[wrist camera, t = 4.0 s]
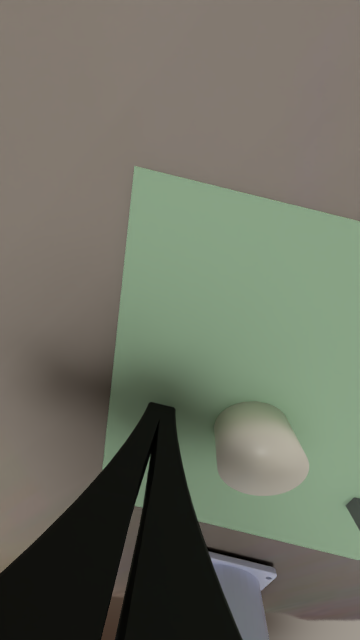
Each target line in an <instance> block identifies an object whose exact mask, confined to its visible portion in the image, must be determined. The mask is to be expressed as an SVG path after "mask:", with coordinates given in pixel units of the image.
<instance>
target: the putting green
mask: <svg viewBox="0 0 360 640" xmlns="http://www.w3.org/2000/svg"><path fill="white" fill-rule="evenodd" d="M248 401H256V402H263V403H267V404H270V405H272V406H274V407H276V408H278V409H279V410H280V411H282V412H283V413H284V415H285V416H286V418H287V420H288V422H289V423H290V425H291V427H292V429H293V431H294V433H295V435H296V437H297V439H298V441H299V443H300V445H301V447H302V449H303V451H304V452H305V454H306V456H307V458H308V461H309V472H308V475H307V477H306V478H305V480H304V481H303V482H302V483H301V484H300V485H299V486H297V487H296V488H294V489H292V490H290V491H288V492H285V493H282V494H278V495H272V496H255V495H249V494H245V493H242V492H239V491H237V490H235V489H233V488H231V487H230V486H228V485H227V484H226V483H225V482H224V481H223V480H222V479H221V477H220V476H219V473H218V470H217V459H216V447H215V435H214V424H215V421H216V419H217V417H218V416H219V414H220V413H221V412H222V411H223V410H225V409H226V408H228V407H230V406H232V405H234V404H237V403H241V402H248ZM150 402H154V403H158V404H162V405H166V406H171V407H174V408H175V409H176V427H177V436H178V442H179V448H180V453H181V459H182V464H183V468H184V472H185V477H186V481H187V485H188V489H189V492H190V496H191V500H192V503H193V507H194V510H195V513H196V516H197V520H198V521H200V522H204V523H208V524H212V525H216V526H220V527H224V528H228V529H232V530H237V531H241V532H245V533H249V534H253V535H257V536H261V537H265V538H269V539H274V540H278V541H282V542H286V543H290V544H294V545H298V546H302V547H306V548H311V549H315V550H319V551H323V552H327V553H331V554H335V555H339V556H343V557H348V558H352V559H356V560H360V531H359V529H358V527H357V525H356V523H355V522H354V520H353V518H352V516H351V514H350V513H349V511H348V509H347V507H346V505H347V504H348V503H349V502H350V501H351V500H352V499H353V498H354V497H355V498H360V221H356V220H352V219H348V218H344V217H340V216H336V215H332V214H328V213H324V212H320V211H316V210H311V209H307V208H303V207H299V206H295V205H291V204H287V203H283V202H279V201H275V200H271V199H267V198H263V197H259V196H254V195H250V194H246V193H242V192H238V191H234V190H230V189H226V188H222V187H218V186H214V185H210V184H206V183H202V182H197V181H193V180H189V179H185V178H181V177H177V176H173V175H169V174H165V173H161V172H157V171H153V170H149V169H145V168H140V167H136V166H134V176H133V185H132V195H131V204H130V214H129V223H128V232H127V242H126V251H125V261H124V270H123V279H122V289H121V298H120V308H119V317H118V327H117V336H116V345H115V355H114V364H113V374H112V383H111V393H110V402H109V411H108V421H107V430H106V440H105V449H104V458H103V468H102V471H103V469H104V468H105V467H106V466H107V465H108V463H109V462H110V461H111V460H112V458H113V457H114V456H115V455H116V453H117V452H118V451H119V449H120V448H121V447H122V445H123V444H124V443H125V441H126V440H127V439H128V437H129V436H130V434H131V433H132V431H133V430H134V428H135V427H136V425H137V424H138V422H139V421H140V419H141V417H142V416H143V414H144V412H145V410H146V408H147V406H148V403H150ZM150 455H151V454H150ZM149 462H150V458H149V461H148V464H147V467H146V470H145V474H144V477H143V480H142V483H141V486H140V490H139V493H138V496H137V499H136V502H135V506H138V507H142V508H143V502H144V495H145V489H146V482H147V475H148V469H149Z"/></svg>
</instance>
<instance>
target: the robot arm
mask: <svg viewBox="0 0 360 640" xmlns="http://www.w3.org/2000/svg"><path fill="white" fill-rule="evenodd" d="M150 454H151V455H150ZM149 458H150V462H149V469H148V475H147V482H146V489H145V495H144V502H143V509H142V515H141V520H140V526H139V530H138V535H137V540H136V544H135V549H134V554H133V558H132V563H131V568H130V572H129V577H128V582H127V586H126V591H125V596H124V600H123V605H122V610H121V614H120V619H119V624H118V628H117V633H116V637H115V640H269V635H268V629H267V624H266V618H265V612H264V607H263V601H262V596H261V591H262V590H263V589H264V588H265V587H266V586H267V585H268V584H269V583H270V582H271V581H273V580H274V579H275V578H276V576H277V574H276V570H275V568H274V567H271V566H267V565H263V564H259V563H255V562H251V561H246V560H242V559H238V558H234V557H230V556H226V555H222V554H218V553H214V552H209V551H208V549H207V546H206V543H205V541H204V538H203V535H202V532H201V529H200V526H199V523H198V520H197V516H196V513H195V510H194V507H193V503H192V500H191V496H190V492H189V489H188V485H187V481H186V477H185V472H184V468H183V464H182V459H181V453H180V448H179V442H178V436H177V427H176V409H175V408H174V407H171V406H166V405H162V404H158V403H154V402H150V403H148V406H147V408H146V410H145V412H144V414H143V416H142V417H141V419H140V421H139V422H138V424H137V425H136V427H135V428H134V430H133V431H132V433H131V434H130V436H129V437H128V439H127V440H126V441H125V443H124V444H123V445H122V447H121V448H120V449H119V451H118V452H117V453H116V455H115V456H114V457H113V458H112V460H111V461H110V462H109V463H108V465H107V466H106V467H105V468H104V469H103V471H102V472H101V473H100V474H99V475H98V476H97V478H96V479H95V480H94V481H93V482H92V483H91V484H90V485H89V487H88V488H87V489H86V490H85V491H84V492H83V493H82V494H81V495H80V496H79V497H78V499H77V500H76V501H75V502H74V503H73V504H72V505H71V506H70V507H69V508H68V509H67V510H66V511H65V512H64V513H63V514H62V515H61V516H60V517H59V518H58V519H57V520H56V521H55V522H54V523H53V524H52V525H51V526H50V527H49V528H48V529H47V530H46V531H45V532H44V533H43V534H42V535H41V536H40V537H39V538H38V539H37V540H36V541H35V542H34V543H33V544H32V545H31V546H30V547H29V548H27V549H26V550H25V551H24V552H23V553H22V554H21V555H20V556H19V557H18V558H17V559H16V560H14V561H13V562H12V563H11V564H10V565H9V566H8V567H7V568H6V569H5V570H4V571H2V572H1V573H0V640H101V637H102V633H103V628H104V625H105V620H106V617H107V612H108V608H109V604H110V600H111V596H112V592H113V588H114V584H115V580H116V576H117V572H118V568H119V564H120V560H121V556H122V552H123V547H124V543H125V539H126V535H127V531H128V527H129V523H130V519H131V516H132V512H133V509H134V506H135V502H136V499H137V496H138V493H139V490H140V486H141V483H142V480H143V477H144V474H145V470H146V467H147V464H148V461H149Z"/></svg>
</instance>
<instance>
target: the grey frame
mask: <svg viewBox="0 0 360 640" xmlns="http://www.w3.org/2000/svg"><path fill="white" fill-rule="evenodd" d="M346 507H347V509H348V511H349V513H350V514H351V516H352V518H353V520H354V522H355V523H356V525H357V527H358V529H359V531H360V498H355V497H354V498H353V499H352V500H351V501H350V502H349V503H348V504H347V505H346Z"/></svg>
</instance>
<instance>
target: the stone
mask: <svg viewBox="0 0 360 640" xmlns="http://www.w3.org/2000/svg"><path fill="white" fill-rule="evenodd" d="M214 435H215V447H216V459H217V470H218V473H219V476H220V477H221V479H222V480H223V481H224V482H225V483H226V484H227V485H228V486H230V487H231V488H233V489H235V490H237V491H239V492H242V493H245V494H249V495H255V496H272V495H278V494H282V493H285V492H288V491H290V490H292V489H294V488H296V487H297V486H299V485H300V484H301V483H302V482H303V481H304V480H305V478H306V477H307V475H308V472H309V461H308V458H307V456H306V454H305V452H304V451H303V449H302V447H301V445H300V443H299V441H298V439H297V437H296V435H295V433H294V431H293V429H292V427H291V425H290V423H289V422H288V420H287V418H286V416H285V415H284V413H283V412H282V411H280V410H279V409H278V408H276V407H274V406H272V405H270V404H267V403H263V402H256V401H248V402H241V403H237V404H234V405H232V406H230V407H228V408H226V409H225V410H223V411H222V412H221V413H220V414H219V416H218V417H217V419H216V421H215V424H214Z"/></svg>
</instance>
